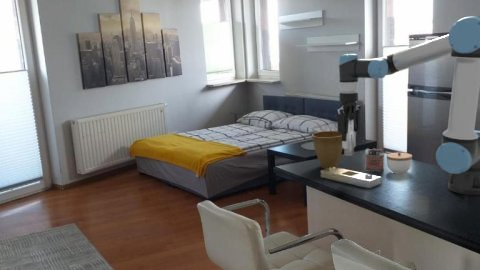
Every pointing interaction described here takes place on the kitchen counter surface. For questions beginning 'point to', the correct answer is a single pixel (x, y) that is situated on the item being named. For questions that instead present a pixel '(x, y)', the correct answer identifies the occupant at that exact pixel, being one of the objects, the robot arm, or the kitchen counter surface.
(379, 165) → the lighter
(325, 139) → the plant pot
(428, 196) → the kitchen counter surface
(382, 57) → the robot arm
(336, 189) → the kitchen counter surface
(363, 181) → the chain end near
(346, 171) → the frame
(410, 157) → the lidded jar
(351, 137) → the pin
